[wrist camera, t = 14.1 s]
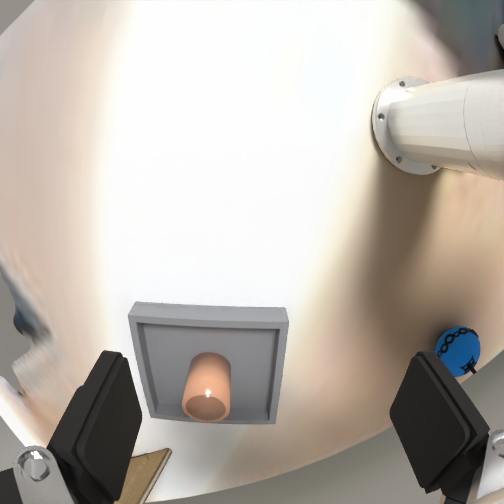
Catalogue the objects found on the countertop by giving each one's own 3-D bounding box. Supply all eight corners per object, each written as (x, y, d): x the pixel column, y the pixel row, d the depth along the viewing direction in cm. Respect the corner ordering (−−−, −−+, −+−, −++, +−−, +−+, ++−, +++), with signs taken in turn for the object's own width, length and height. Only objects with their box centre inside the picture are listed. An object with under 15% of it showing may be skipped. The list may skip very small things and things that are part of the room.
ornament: (417, 343, 44) (445, 381, 34) (455, 307, 42) (488, 339, 32) (435, 365, 46) (461, 400, 36) (469, 332, 44) (499, 364, 34)
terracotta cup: (231, 353, 41) (229, 393, 34) (231, 383, 43) (229, 423, 36) (188, 351, 41) (179, 390, 33) (191, 381, 43) (184, 421, 35)
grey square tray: (285, 307, 40) (288, 321, 37) (273, 408, 47) (275, 424, 44) (135, 301, 39) (127, 314, 36) (154, 402, 46) (150, 417, 43)
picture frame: (89, 469, 57) (61, 556, 29) (59, 448, 54) (24, 537, 26) (172, 450, 51) (153, 578, 23) (136, 423, 48) (100, 560, 20)
